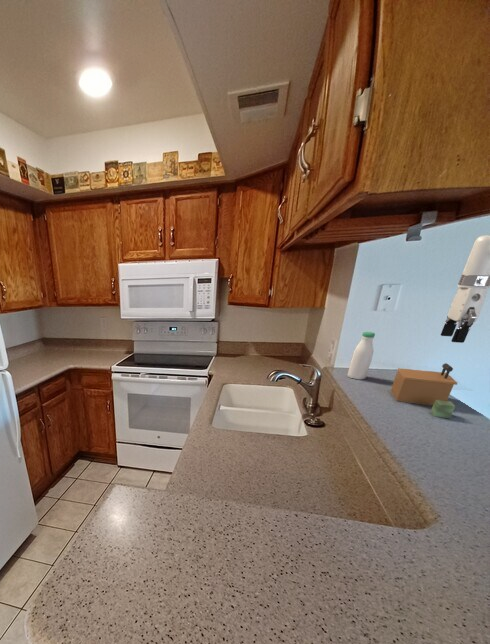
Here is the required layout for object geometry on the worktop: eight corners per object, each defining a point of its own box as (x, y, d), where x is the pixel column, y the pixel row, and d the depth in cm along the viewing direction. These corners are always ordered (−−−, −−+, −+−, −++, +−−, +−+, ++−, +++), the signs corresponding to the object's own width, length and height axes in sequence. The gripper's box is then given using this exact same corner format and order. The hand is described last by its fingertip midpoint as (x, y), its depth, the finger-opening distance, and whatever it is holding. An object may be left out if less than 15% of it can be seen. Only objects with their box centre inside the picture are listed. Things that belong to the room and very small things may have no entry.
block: (445, 413, 116) (451, 401, 114) (450, 418, 112) (455, 406, 110) (430, 411, 118) (435, 399, 115) (434, 416, 114) (439, 404, 112)
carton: (434, 395, 131) (442, 374, 127) (444, 406, 121) (453, 384, 117) (390, 390, 136) (397, 370, 132) (396, 400, 126) (404, 379, 122)
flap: (445, 374, 127) (451, 361, 124) (456, 384, 117) (463, 370, 114) (397, 370, 132) (401, 357, 129) (404, 379, 122) (409, 365, 119)
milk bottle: (367, 380, 147) (380, 335, 137) (348, 378, 149) (360, 333, 140) (364, 375, 153) (377, 331, 143) (346, 373, 155) (358, 330, 146)
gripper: (504, 284, 91) (477, 345, 100) (477, 280, 106) (455, 334, 114) (472, 283, 94) (447, 343, 102) (449, 280, 108) (429, 333, 116)
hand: (451, 338), depth 108 cm, fingers open, 9 cm apart
